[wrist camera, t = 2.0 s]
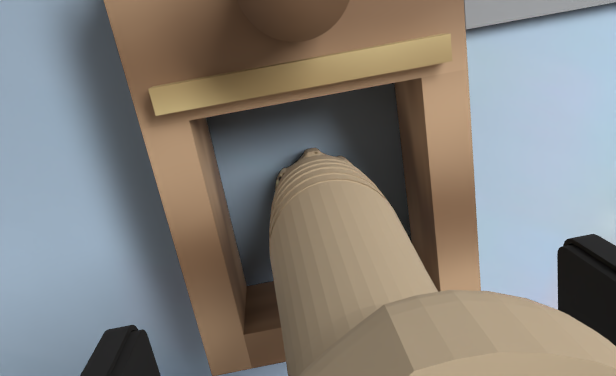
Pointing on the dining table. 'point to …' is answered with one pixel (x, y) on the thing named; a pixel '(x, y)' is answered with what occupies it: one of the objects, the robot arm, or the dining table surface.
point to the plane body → (286, 88)
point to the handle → (397, 294)
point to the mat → (518, 9)
